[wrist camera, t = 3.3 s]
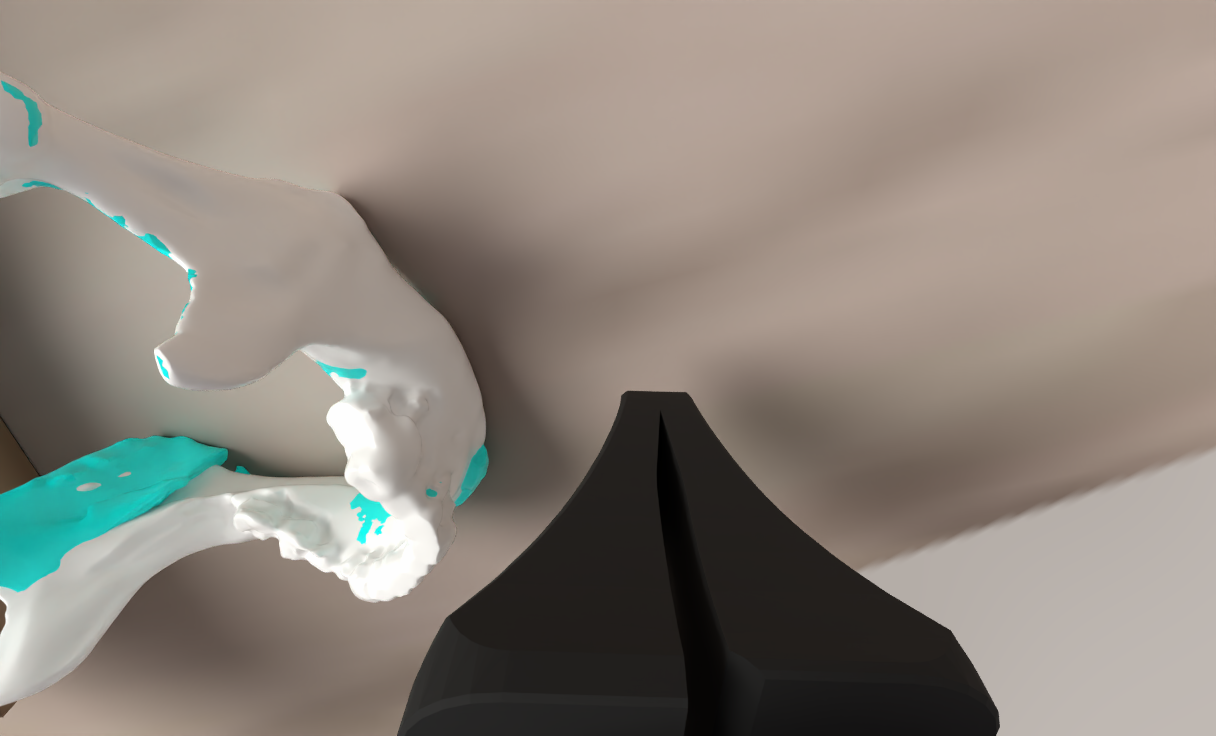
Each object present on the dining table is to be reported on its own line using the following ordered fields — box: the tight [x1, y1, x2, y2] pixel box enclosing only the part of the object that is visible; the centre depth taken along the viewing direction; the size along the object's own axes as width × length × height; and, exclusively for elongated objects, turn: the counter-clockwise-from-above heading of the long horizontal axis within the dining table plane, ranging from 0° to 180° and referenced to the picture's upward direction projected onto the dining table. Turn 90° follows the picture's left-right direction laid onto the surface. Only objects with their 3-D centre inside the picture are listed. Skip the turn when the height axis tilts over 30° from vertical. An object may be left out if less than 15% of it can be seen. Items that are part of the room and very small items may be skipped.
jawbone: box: [0, 72, 489, 706], centre depth 12 cm, size 12×8×9 cm, turn 139°
